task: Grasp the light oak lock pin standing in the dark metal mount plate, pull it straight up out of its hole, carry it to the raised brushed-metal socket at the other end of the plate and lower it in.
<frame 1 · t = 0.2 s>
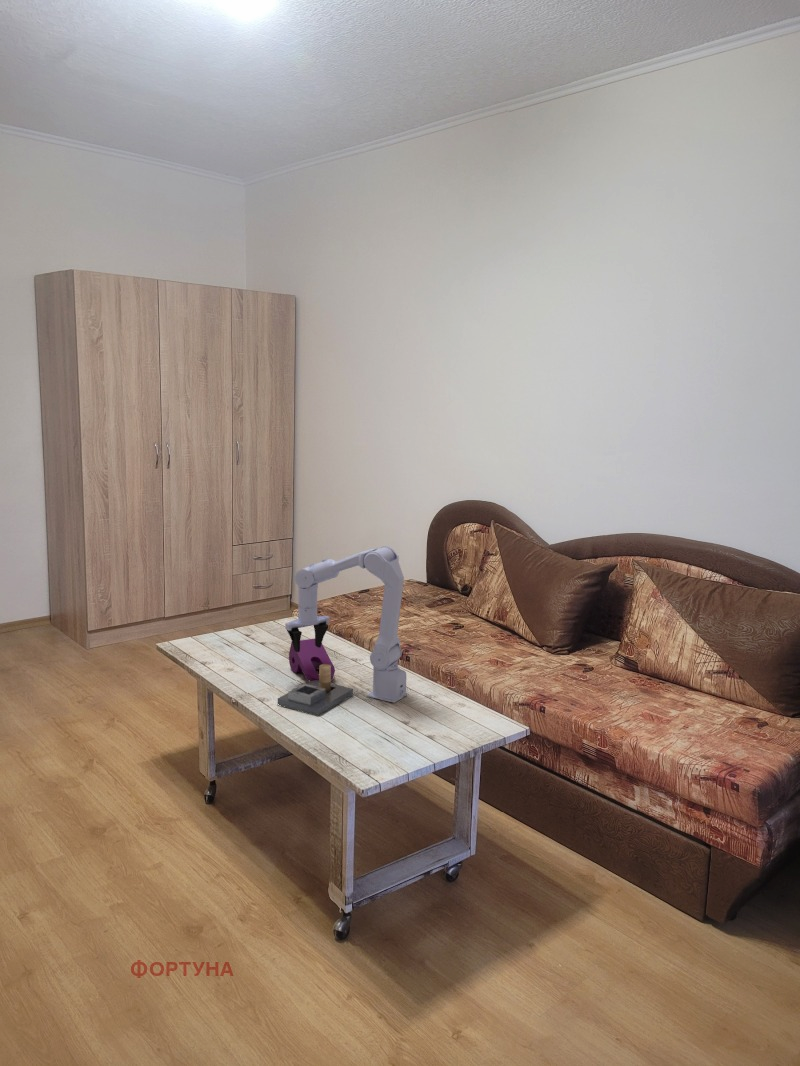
hand: (307, 648, 246), 10 cm above the table, tool pointing down, fingers open, 7 cm apart
mounting bracket: (313, 676, 252), on the table, touching mount plate
mount plate: (316, 700, 233), on the table
pin: (324, 695, 236), resting in mount plate
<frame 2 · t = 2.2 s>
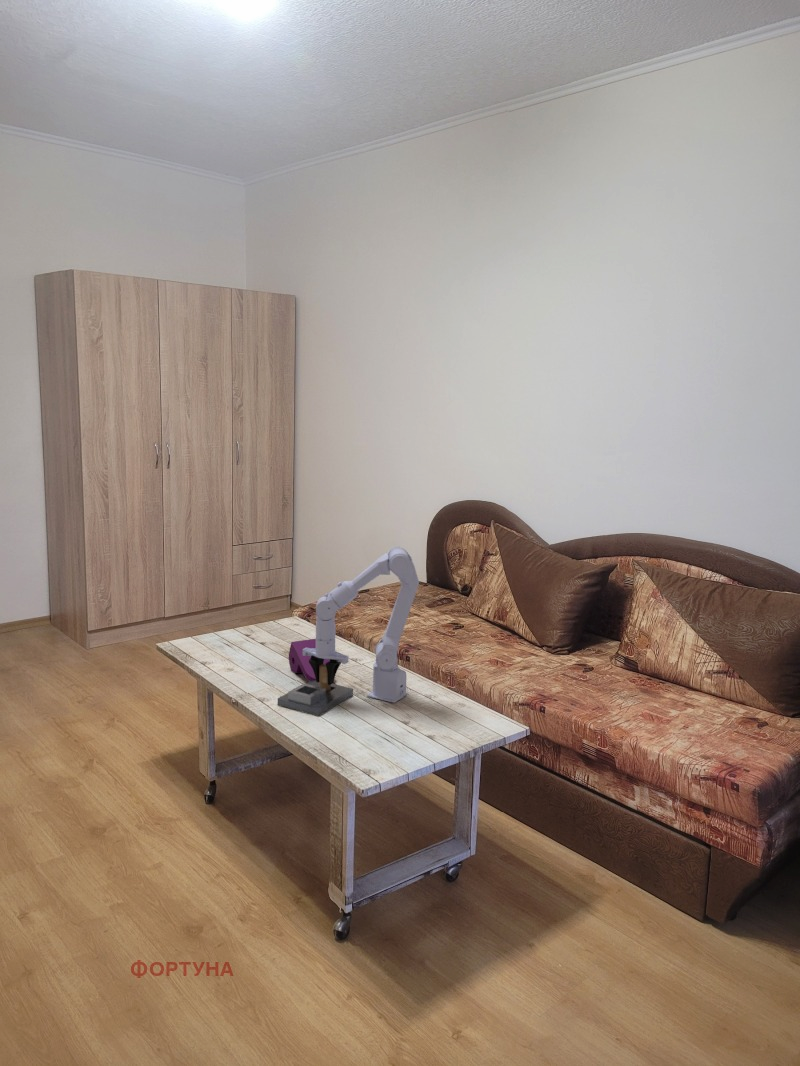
hand: (324, 682, 236), 4 cm above the table, tool pointing down, fingers closed on pin, 3 cm apart
pin: (324, 695, 236), resting in mount plate, touching gripper
everything else where it was.
when the fingers open (5 cm above the table, at t = 5.5 s): pin drops 1 cm, resting in mount plate.
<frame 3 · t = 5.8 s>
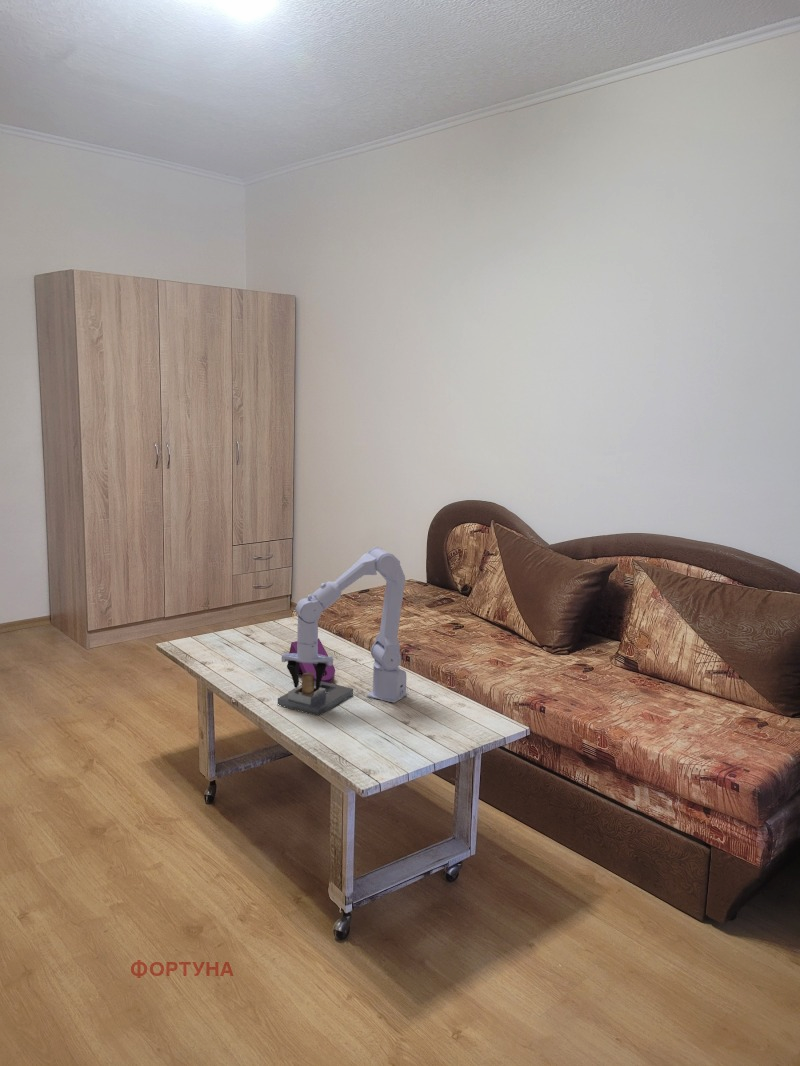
hand: (307, 687, 228), 5 cm above the table, tool pointing down, fingers open, 6 cm apart
pin: (307, 704, 229), resting in mount plate
everything else where it was.
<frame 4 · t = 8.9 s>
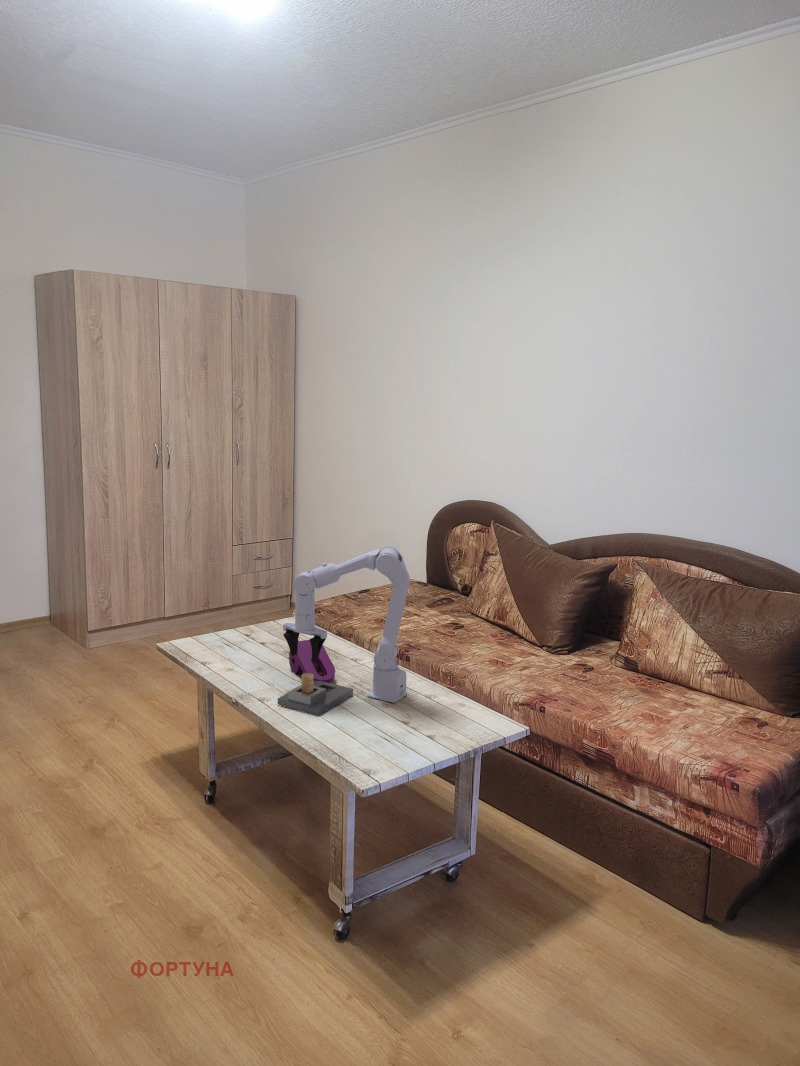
hand: (304, 657, 237), 10 cm above the table, tool pointing down, fingers open, 7 cm apart
nothing on the table moved.
at the end: pin 0.2 cm from the target spot on the mount plate, point 0.0 cm above the mount plate's base; pin tilted 0°; the gripper is holding nothing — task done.
